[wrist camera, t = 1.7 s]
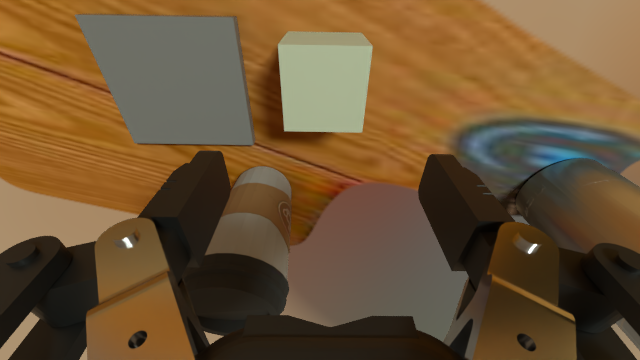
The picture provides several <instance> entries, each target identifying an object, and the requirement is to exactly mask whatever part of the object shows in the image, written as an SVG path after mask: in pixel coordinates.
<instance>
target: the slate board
mask: <svg viewBox="0 0 640 360" xmlns="http://www.w3.org/2000/svg"><path fill="white" fill-rule="evenodd" d="M75 17H76V19H77V21H78V23H79V25H80V27H81V29H82V32H83V34H84V36H85V38H86V40H87V42H88V44H89V46H90V49H91V51H92V53H93V55H94V57H95V59H96V61H97V64H98V66H99V68H100V70H101V72H102V74H103V76H104V78H105V81H106V83H107V85H108V87H109V89H110V91H111V93H112V96H113V98H114V100H115V102H116V104H117V106H118V108H119V111H120V113H121V115H122V117H123V119H124V121H125V123H126V125H127V128H128V130H129V132H130V134H131V136H132V138H133V140H134V143H150V144H213V145H254V142H255V135H254V128H253V122H252V115H251V109H250V102H249V95H248V89H247V82H246V76H245V69H244V63H243V56H242V49H241V43H240V36H239V30H238V23H237V17H236V16H190V15H131V14H77V15H75Z"/></svg>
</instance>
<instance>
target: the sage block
mask: <svg viewBox="0 0 640 360" xmlns="http://www.w3.org/2000/svg"><path fill="white" fill-rule="evenodd" d="M372 47H373V46H372V45H371V44H370V42H369V41H368V40H367V39H366V38H365V36H364V35H363V34H362V33H344V32H287V33H286V35H285V36H284V37H283V38H282V40H281V41H280V42H279V44H278V54H279V67H280V80H281V94H282V107H283V120H284V131H301V132H362V129H363V121H364V113H365V105H366V97H367V88H368V80H369V72H370V64H371V56H372Z"/></svg>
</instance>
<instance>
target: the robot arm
mask: <svg viewBox="0 0 640 360" xmlns="http://www.w3.org/2000/svg"><path fill="white" fill-rule="evenodd" d="M418 194H419V200H420V203H421V205H422V207H423V209H424V211H425V213H426V216H427V218H428V220H429V222H430V224H431V227H432V229H433V231H434V233H435V235H436V237H437V239H438V242H439V244H440V246H441V248H442V250H443V252H444V255H445V257H446V259H447V261H448V263H449V266H450V268H451V270H452V271H466V272H467V274H468V276H469V277H468V279H467V280H466V282H465V285H464V288H463V291H462V294H461V297H460V300H459V303H458V306H457V308H456V312H455V315H454V317H453V321H452V324H451V326H450V329H449V331H448V333H447V335H446V337H445V339H444V341H443V342H442V341H440V340H438V339H437V338H435V337H433V336H431V335H429V334H426V333H424V332H421V331H418V330H416V328H415V324H414V320H413V317H412V316H371V317H367V318H363V319H360V320H356V321H353V322H349V323H346V324H342V325H339V326H334V327H326V326H323V325H319V324H316V323H313V322H309V321H306V320H302V319H299V318H295V317H292V316H288V315H247V319H246V323H245V328H243V329H239V330H237V331H234V332H232V333H229V334H227V335H225V336H224V337H222V338H220V339H218V340H217V341H215V342H214V343H212V344H211V345H210V344H209V342H208V340H207V338H206V335H205V333H204V331H203V329H202V327H201V324H200V322H199V319H198V316H197V313H196V311H195V308H194V305H193V303H192V300H191V297H190V295H189V292H188V289H187V287H186V284H185V281H184V279H183V277H182V275H183V273H184V271H185V269H186V267H200V265H201V263H202V260H203V258H204V256H205V253H206V251H207V249H208V246H209V244H210V242H211V239H212V237H213V235H214V232H215V230H216V228H217V225H218V223H219V221H220V218H221V216H222V214H223V211H224V209H225V207H226V204H227V202H228V200H229V197H230V181H229V177H228V173H227V169H226V165H225V161H224V157H223V154H222V152H221V151H199V152H198V153H197V154H196V155H195V157H194V158H193V159H192V161H191V162H190V163H185V164H184V165H182V166H181V167H179V168H178V169H176V170H175V171H174V172H173V173H172V174H171V175H170V177H169V178H168V179H167V182H165V183H164V184H163V186H162V187H161V190H159V191H158V192H157V193H156V194H155V196H154V197H153V198H152V200H151V201H150V202H149V203H148V205H147V206H146V207H145V208H144V210H143V211H142V212H141V214H140V215H139V216H138V217H137V218H132V219H128V220H125V221H122V222H119V223H117V224H115V225H113V226H112V227H110V228H108V229H107V230H106V231H105V232H103V233H102V234H101V236H100V237H99V238H98V240H97V241H94V242H90V243H86V244H81V245H76V246H72V247H67V248H66V247H65V246H64V245H63V243H62V242H61V241H60V240H59V239H58V238H56V237H53V236H41V237H36V238H32V239H29V240H26V241H23V242H21V243H19V244H16V245H14V246H12V247H11V248H9V249H8V250H6V251H4V252H3V253H1V254H0V348H1V347H2V346H3V345H4V343H5V342H6V341H7V340H8V339H9V337H10V336H11V335H12V334H13V333H14V331H15V330H16V329H17V328H18V326H19V325H20V324H21V322H23V320H24V319H25V318H26V317H27V315H28V314H29V313H30V312H32V313H33V314H35V315H36V316H37V317H39V318H40V319H39V321H38V322H37V323H36V325H35V326H34V327H33V329H32V330H31V331H30V332H29V334H28V335H27V336H26V337H25V339H24V340H23V341H22V343H21V344H20V345H19V347H18V348H17V349H16V350H15V352H14V353H13V354H12V356H11V357H10V358H9V359H8V360H79V359H80V357H81V355H82V354H83V352H84V350H85V349H86V347H87V357H88V360H637V359H636V358H635V357H634V355H633V354H632V353H631V351H630V350H629V349H628V348H627V346H626V345H625V344H624V343H623V341H622V340H621V339H620V338H619V336H618V335H617V334H616V333H615V331H614V330H613V329H612V328H611V326H612V325H613V324H615V323H616V324H617V325H618V327H619V328H620V329H621V330H622V331H623V332H624V333H625V334H626V335H627V336H628V338H629V339H630V340H631V341H632V342H633V343H634V345H635V346H636V347H637V348H638V349H639V350H640V187H639V186H638V185H636V184H634V183H633V182H631V181H630V180H628V179H626V178H625V177H623V176H622V175H620V174H618V173H617V172H615V171H613V170H610V169H608V168H607V167H605V166H603V165H602V164H600V163H599V162H597V161H595V160H591V159H587V158H577V159H570V160H566V161H562V162H559V163H556V164H554V165H551V166H549V167H547V168H545V169H543V170H542V171H540V172H538V173H537V174H536V175H534V176H533V177H532V178H530V179H529V180H528V181H527V182H526V183H525V184H524V185H523V187H522V188H521V189H520V191H519V193H518V195H517V197H516V202H515V203H516V208H517V210H518V212H519V213H520V214H521V215H522V216H523V218H524V219H525V220H526V221H527V222H528V223H529V224H530V225H527V224H524V223H519V222H515V220H514V219H513V218H512V217H511V216H510V214H509V213H508V212H507V211H506V210H505V208H504V207H503V206H502V205H501V204H500V202H499V201H498V200H497V199H496V197H495V196H494V195H492V194H491V191H490V190H489V189H488V188H487V187H485V184H484V183H483V182H482V180H481V179H480V178H479V177H478V176H477V175H476V174H474V173H473V172H471V171H470V170H468V169H467V168H465V167H462V166H461V165H460V163H459V162H458V161H457V159H456V158H455V157H454V156H453V155H451V154H431V155H430V156H429V157H428V159H427V162H426V166H425V169H424V172H423V175H422V178H421V182H420V185H419V190H418Z"/></svg>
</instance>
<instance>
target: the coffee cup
mask: <svg viewBox="0 0 640 360" xmlns="http://www.w3.org/2000/svg"><path fill="white" fill-rule="evenodd" d="M290 228H291V186H290V184H289V182H288V181H287V179H286V178H285V176H284V175H283V174H282V173H280V172H279V171H277V170H275V169H273V168H270V167H254V168H251V169H249V170H247V171H245V172H243V173H242V174H241V175H240V176H239V178H238V180H237V181H236V183H235V185H234V187H233V188H232V190H231V191H230V197H229V200H228V202H227V204H226V207H225V209H224V211H223V214H222V216H221V218H220V221H219V223H218V225H217V228H216V230H215V232H214V235H213V237H212V239H211V242H210V244H209V246H208V249H207V251H206V253H205V256H204V258H203V260H202V263H201V265H200V267H186V269H185V271H184V273H183V275H182V277H183V279H184V281H185V284H186V287H187V289H188V292H189V295H190V297H191V300H192V303H193V305H194V308H195V311H196V313H197V316H198V319H199V322H200V324H201V327H202V329H203V331H205V332H208V333H212V334H217V335H222V336H225V335H227V334H229V333H232V332H234V331H237V330H239V329H243V328H245V323H246V319H247V315H280V314H281V313H282V311H284V308H285V305H286V297H287V295H288V292H289V287H288V282H287V271H288V254H289V250H290Z"/></svg>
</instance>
